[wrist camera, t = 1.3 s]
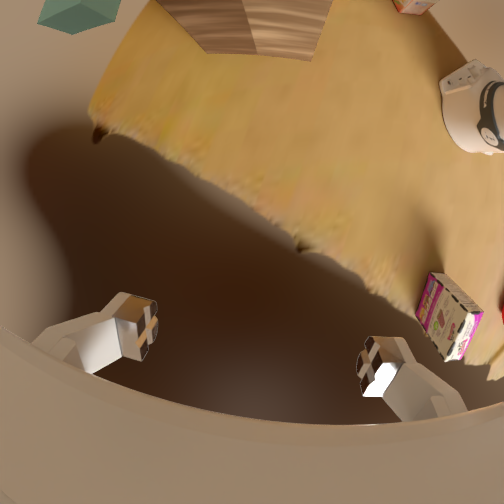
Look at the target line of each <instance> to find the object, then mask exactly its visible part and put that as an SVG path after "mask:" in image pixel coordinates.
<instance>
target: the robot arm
mask: <svg viewBox="0 0 504 504" xmlns="http://www.w3.org/2000/svg"><path fill="white" fill-rule="evenodd" d="M448 83H449V84H448ZM439 86H440V90H441V93H442V97H443V104H442V110H443V117H444V122H445V125H446V128H447V130H448V132H449V134H450V136H451V137H452V139H453V140H454V142H455V143H456V144H457V145H458V146H459V147H460V148H462V149H463V150H465V151H467V152H471V153H476V152H482V153H484V154H486V155H492V154H493V153H494V152H504V80H503V78H502V77H501V76H500V75H499V73H497V71H495V70H494V69H492V68H490V67H489V68H487V67H486V66H485V65H483V64H482V63H481V62H479V61H478V60H472V61H470V62H468V63H467V64H465V65H464V66H462V67H460V68H459V69H457V70H456V71H454V72H452V73H451V74H449V75H448V76H446V77H445V78H443V79H441V80H440V82H439ZM156 312H157V303H156V302H155V301H153V300H149V299H146V298H142V297H138V296H135V295H131V294H127V293H123V292H120V293H118V294H117V295H116V296H115V297H114V298H113V300H111V301H110V302H109V304H108V305H107V306H106V307H105V308H104V309H103V310H102V311H101V312H100V313H98V312H95V313H91V314H88V315H85V316H82V317H79V318H76V319H73V320H70V321H66V322H64V323H60V324H57V325H54V326H51V327H47V328H46V329H45V330H44V331H43V332H42V333H41V334H40V335H39V336H38V337H37V338H36V339H35V340H34V341H33V342H32V343H31V344H30V343H28V342H27V341H25V340H23V339H22V338H20V337H18V336H17V335H15V334H13V333H12V332H10V331H9V330H7V329H6V328H4V327H2V326H1V325H0V504H504V402H501V403H498V404H494V405H491V406H488V407H484V408H480V409H476V410H472V411H467V408H466V406H465V404H464V402H463V400H462V398H461V396H460V394H459V393H458V392H457V391H456V390H455V389H453V388H452V387H451V386H449V385H448V384H447V383H445V382H444V381H443V380H441V379H440V378H439V377H437V376H436V375H435V374H433V373H432V372H431V371H429V370H428V369H427V368H425V367H424V366H423V365H421V364H420V363H417V362H416V361H415V358H414V357H413V355H412V353H411V351H410V349H409V347H408V345H407V343H406V341H405V340H404V339H403V338H401V337H376V336H369V337H368V339H367V340H366V342H365V347H366V349H365V350H363V351H362V352H361V353H360V355H359V357H358V360H357V365H356V366H357V367H356V369H357V374H358V376H359V377H360V378H362V380H361V382H360V386H361V390H362V393H363V396H382V398H383V399H384V400H385V402H386V403H387V404H388V405H389V406H390V407H391V409H392V410H393V411H394V412H395V413H396V414H397V415H398V416H399V418H400V419H401V420H402V421H403V422H400V423H389V424H373V425H315V424H298V423H297V424H296V423H285V422H275V421H266V420H259V419H252V418H245V417H239V416H232V415H227V414H222V413H217V412H212V411H207V410H202V409H198V408H194V407H190V406H186V405H182V404H178V403H174V402H170V401H167V400H163V399H160V398H157V397H153V396H150V395H147V394H144V393H141V392H138V391H135V390H131V389H129V388H126V387H123V386H121V385H118V384H115V383H113V382H110V381H107V380H104V379H102V378H100V377H97V376H95V375H92V373H94V372H96V371H98V370H99V369H101V368H103V367H105V366H106V365H108V364H110V363H112V362H113V361H115V360H117V359H119V358H120V357H122V356H125V357H128V358H132V359H135V360H139V361H142V360H143V358H144V357H145V355H146V353H147V352H148V344H151V343H153V341H154V339H155V338H156V334H157V331H158V320H157V318H156V317H155V313H156Z"/></svg>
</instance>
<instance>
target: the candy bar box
mask: <svg viewBox="0 0 504 504" xmlns="http://www.w3.org/2000/svg"><path fill="white" fill-rule="evenodd" d="M483 313H484V311H483V310H482V309H481V308H480V307H479V306H478V305H477V304H476V303H475V302H474V301H473V300H472V299H471V298H470V297H469V296H468V295H467V294H466V293H465V292H464V291H463V290H462V289H461V288H460V287H459V286H458V285H457V284H456V283H455V282H454V281H453V280H451V279H450V278H449V277H448V276H447V275H446V274H445V273H434V272H429V275H428V278H427V282H426V285H425V288H424V291H423V295H422V298H421V301H420V303H419V306H418V309H417V312H416V314H415V316H416V317H417V319H418V320H419V322H420V324H421V325H422V326H423V328H424V330H425V331H426V333H427V334H428V336H429V337H430V339H431V340H432V342H433V343H434V345H435V347H436V348H437V350H438V352H439V353H440V355H441V357H442V358H443V360H444V362H447V361H453V360H460V359H461V358H462V357H463V355H464V353H465V351H466V349H467V347H468V345H469V343H470V341H471V339H472V337H473V335H474V333H475V331H476V329H477V327H478V324H479V322H480V320H481V318H482V315H483Z"/></svg>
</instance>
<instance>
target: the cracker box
mask: <svg viewBox="0 0 504 504" xmlns="http://www.w3.org/2000/svg"><path fill="white" fill-rule="evenodd" d="M438 1H439V0H393V2H394V4H395V6H396V8H397V10H398V12H399V13H408V14H415V15H422V14H423V13H424V12H425V11H427V10H428V9H429V8H430V7H432V6H433V5H434V4H435V3H437V2H438Z"/></svg>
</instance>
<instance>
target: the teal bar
mask: <svg viewBox="0 0 504 504" xmlns="http://www.w3.org/2000/svg"><path fill="white" fill-rule="evenodd" d="M120 2H121V0H46V1H45V3H44V6H43V9H42V11H41V14H40V17H39V20H38V23H37V24H40V25H43V26H47V27H50V28H53V29H57V30H59V31H63V32H66V33H69V34H71V35H73V34H76V33H79V32H82V31H84V30H87V29H91V28H94V27H97V26H100V25H104V24H107V23H111V22H115V18H116V15H117V11H118V8H119V5H120Z"/></svg>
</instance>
